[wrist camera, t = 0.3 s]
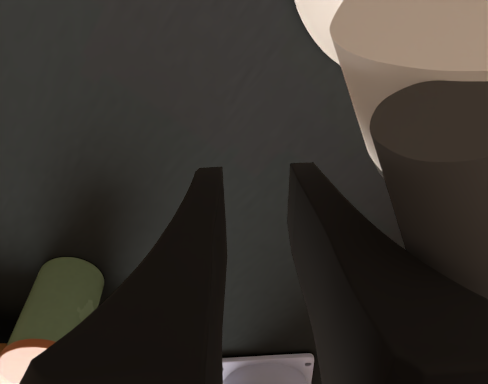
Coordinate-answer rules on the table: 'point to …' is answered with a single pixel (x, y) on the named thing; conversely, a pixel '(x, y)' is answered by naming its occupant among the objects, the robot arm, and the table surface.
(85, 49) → the table surface
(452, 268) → the panda figurine
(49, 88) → the table surface
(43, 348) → the sage tin
